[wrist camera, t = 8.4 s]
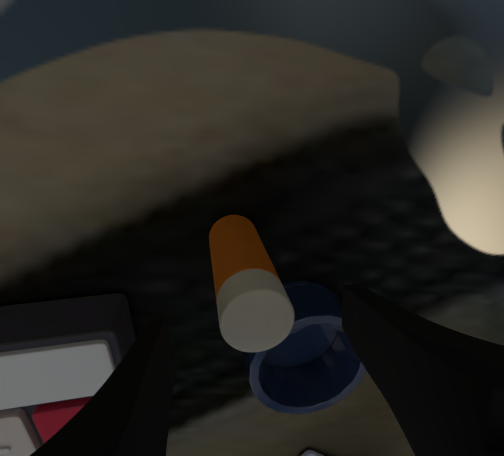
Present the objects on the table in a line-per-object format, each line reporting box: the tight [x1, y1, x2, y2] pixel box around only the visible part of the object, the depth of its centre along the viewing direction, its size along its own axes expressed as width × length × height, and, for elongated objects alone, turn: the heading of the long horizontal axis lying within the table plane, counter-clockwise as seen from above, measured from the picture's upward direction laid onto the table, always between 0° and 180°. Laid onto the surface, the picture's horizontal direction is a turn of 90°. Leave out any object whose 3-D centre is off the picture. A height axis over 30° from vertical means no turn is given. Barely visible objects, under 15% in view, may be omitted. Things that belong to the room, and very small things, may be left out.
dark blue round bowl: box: [243, 281, 367, 414], centre depth 22 cm, size 8×8×4 cm
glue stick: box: [209, 215, 295, 352], centre depth 17 cm, size 3×3×8 cm
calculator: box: [0, 293, 136, 456], centre depth 21 cm, size 11×4×15 cm
